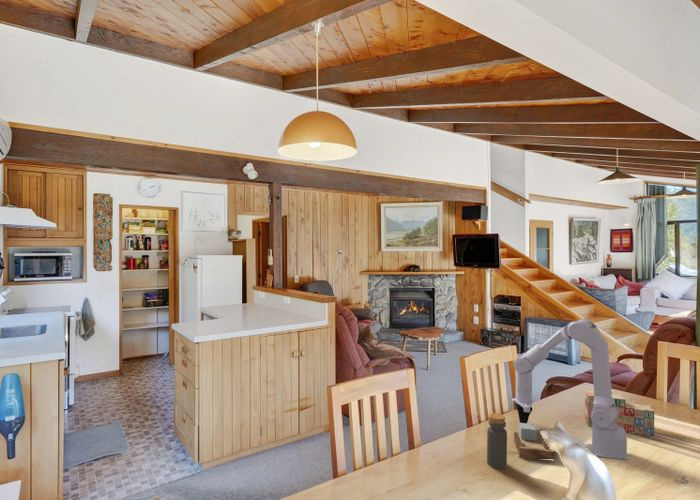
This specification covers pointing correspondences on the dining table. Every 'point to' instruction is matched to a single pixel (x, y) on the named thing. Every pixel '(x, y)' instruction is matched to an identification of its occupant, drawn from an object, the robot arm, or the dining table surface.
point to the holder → (533, 450)
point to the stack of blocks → (626, 414)
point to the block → (527, 431)
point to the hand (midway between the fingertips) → (523, 424)
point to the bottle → (497, 441)
